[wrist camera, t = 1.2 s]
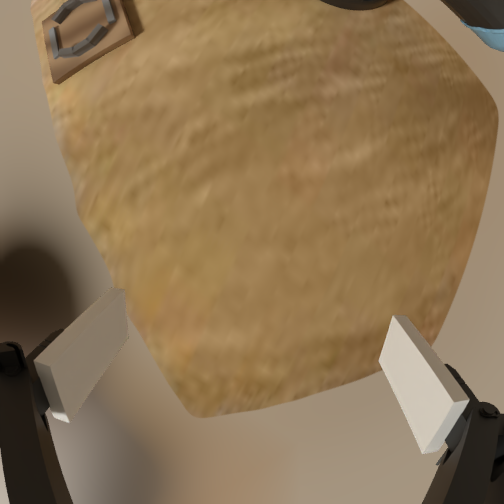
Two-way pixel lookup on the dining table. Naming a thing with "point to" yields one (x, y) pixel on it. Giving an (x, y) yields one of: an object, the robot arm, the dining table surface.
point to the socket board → (84, 34)
